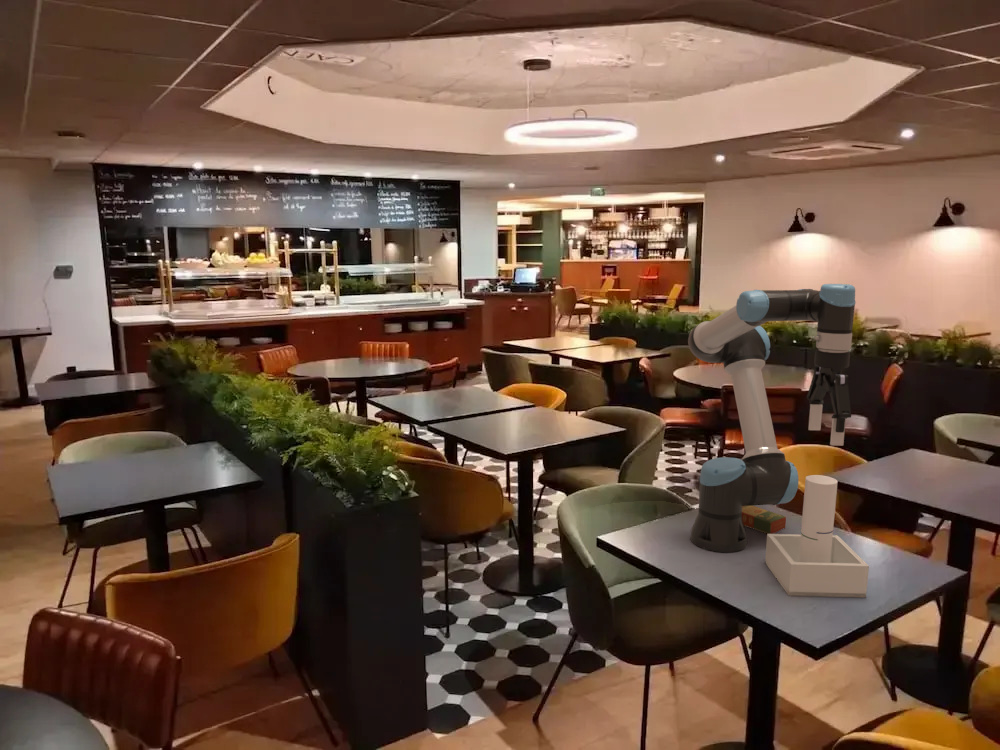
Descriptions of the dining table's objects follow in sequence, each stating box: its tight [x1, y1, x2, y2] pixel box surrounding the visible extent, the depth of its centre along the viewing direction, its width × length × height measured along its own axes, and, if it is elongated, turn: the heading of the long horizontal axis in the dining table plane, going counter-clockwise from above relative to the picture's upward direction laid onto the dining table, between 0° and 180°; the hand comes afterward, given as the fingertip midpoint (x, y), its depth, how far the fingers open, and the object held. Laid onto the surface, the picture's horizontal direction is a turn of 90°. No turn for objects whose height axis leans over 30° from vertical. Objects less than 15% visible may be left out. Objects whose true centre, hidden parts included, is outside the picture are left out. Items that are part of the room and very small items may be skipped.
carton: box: [742, 505, 787, 534], centre depth 216 cm, size 8×16×4 cm, turn 38°
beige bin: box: [764, 533, 870, 599], centre depth 179 cm, size 18×18×8 cm
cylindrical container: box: [799, 474, 838, 563], centre depth 178 cm, size 7×7×25 cm
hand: (825, 437), depth 173 cm, fingers open, 13 cm apart
